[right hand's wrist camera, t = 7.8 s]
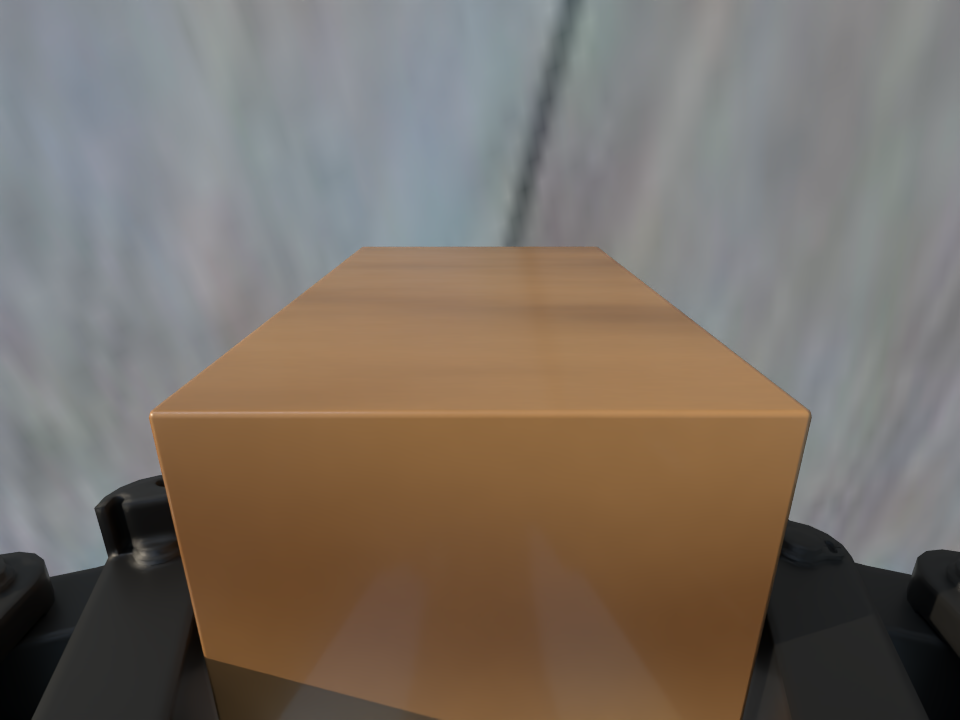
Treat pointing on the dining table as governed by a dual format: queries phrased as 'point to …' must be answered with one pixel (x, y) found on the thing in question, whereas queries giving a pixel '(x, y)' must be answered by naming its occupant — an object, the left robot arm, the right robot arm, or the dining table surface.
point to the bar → (480, 497)
